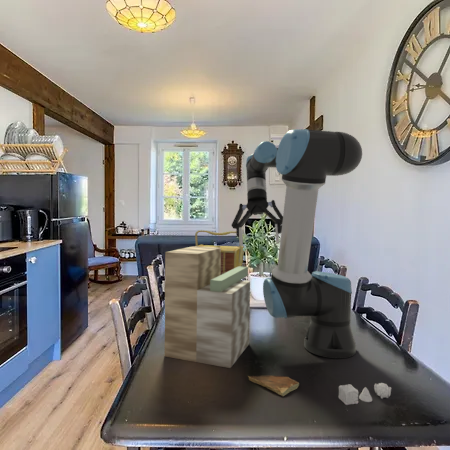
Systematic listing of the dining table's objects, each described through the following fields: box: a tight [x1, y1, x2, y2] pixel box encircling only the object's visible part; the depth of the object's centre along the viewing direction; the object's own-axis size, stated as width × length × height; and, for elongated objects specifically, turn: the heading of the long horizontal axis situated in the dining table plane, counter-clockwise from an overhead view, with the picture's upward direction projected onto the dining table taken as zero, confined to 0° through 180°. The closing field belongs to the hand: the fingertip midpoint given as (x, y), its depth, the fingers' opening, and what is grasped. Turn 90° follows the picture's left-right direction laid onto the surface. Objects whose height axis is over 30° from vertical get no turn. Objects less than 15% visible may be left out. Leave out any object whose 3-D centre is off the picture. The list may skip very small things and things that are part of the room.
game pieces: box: [337, 382, 392, 406], centre depth 78 cm, size 12×3×3 cm, turn 103°
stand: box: [164, 245, 251, 369], centre depth 103 cm, size 18×20×30 cm
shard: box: [247, 375, 300, 397], centre depth 85 cm, size 11×8×2 cm
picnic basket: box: [194, 229, 245, 275], centre depth 207 cm, size 29×26×30 cm
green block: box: [210, 265, 249, 292], centre depth 106 cm, size 26×3×3 cm, turn 160°
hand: (259, 243), depth 127 cm, fingers open, 13 cm apart
